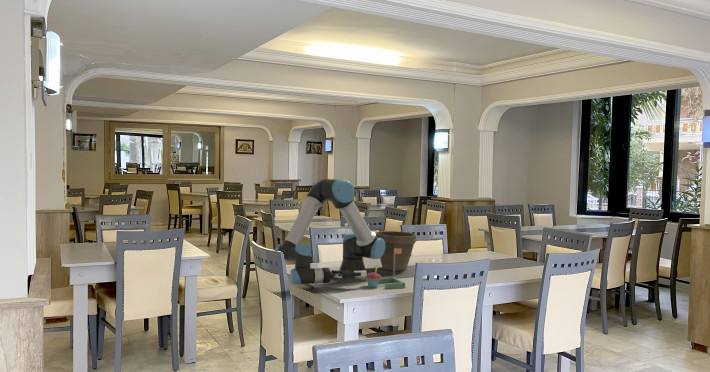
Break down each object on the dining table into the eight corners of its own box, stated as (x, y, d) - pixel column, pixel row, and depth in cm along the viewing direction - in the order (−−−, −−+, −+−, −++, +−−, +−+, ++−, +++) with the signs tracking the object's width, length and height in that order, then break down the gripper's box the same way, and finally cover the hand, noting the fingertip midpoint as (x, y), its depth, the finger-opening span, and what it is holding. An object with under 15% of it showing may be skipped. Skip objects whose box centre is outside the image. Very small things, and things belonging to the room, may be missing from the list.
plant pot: (422, 268, 343) (423, 233, 343) (404, 274, 322) (405, 236, 322) (386, 263, 356) (387, 229, 356) (366, 269, 335) (367, 233, 335)
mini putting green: (386, 288, 283) (386, 253, 282) (374, 282, 297) (375, 248, 297) (412, 287, 288) (413, 252, 287) (400, 281, 302) (401, 248, 302)
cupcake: (380, 284, 292) (381, 261, 292) (381, 288, 284) (382, 264, 283) (364, 284, 292) (365, 261, 292) (364, 287, 284) (365, 264, 283)
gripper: (317, 280, 284) (361, 278, 292) (325, 285, 272) (370, 283, 280) (318, 265, 284) (361, 263, 292) (325, 270, 272) (370, 268, 280)
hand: (366, 273), depth 286 cm, fingers closed
